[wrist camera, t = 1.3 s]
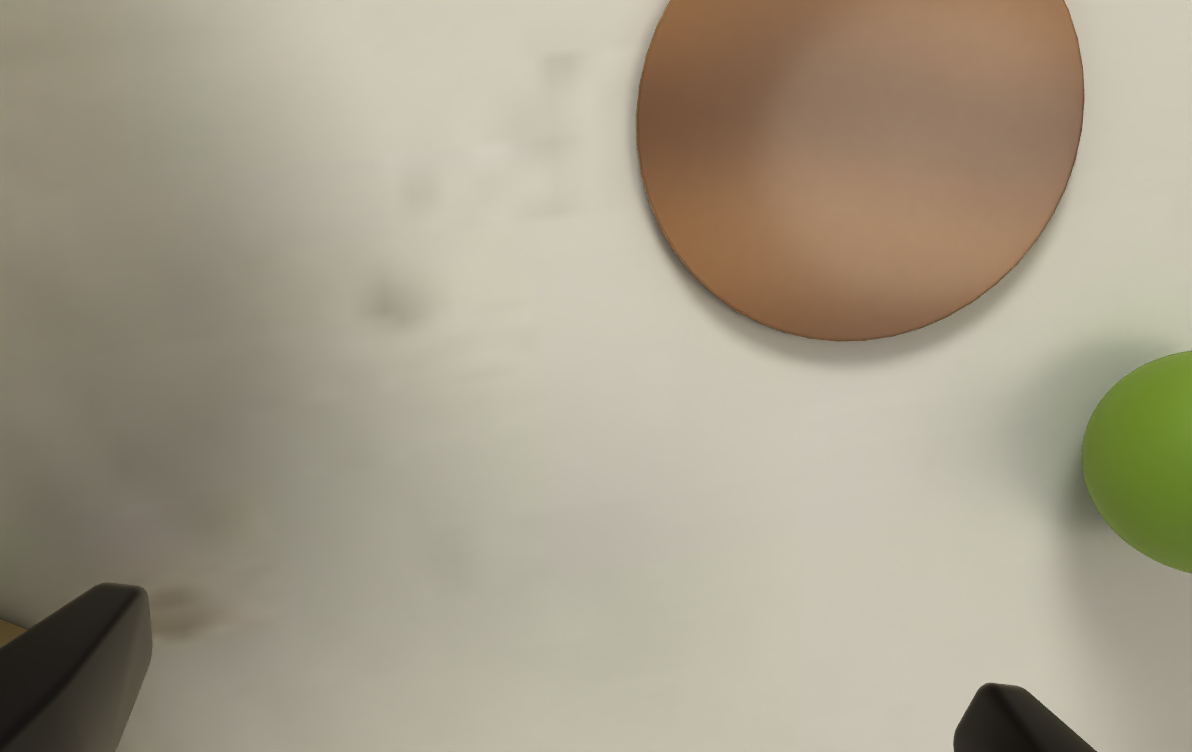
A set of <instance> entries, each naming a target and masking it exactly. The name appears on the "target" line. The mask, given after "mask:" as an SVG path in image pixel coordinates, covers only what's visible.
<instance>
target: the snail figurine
mask: <svg viewBox="0 0 1192 752" xmlns="http://www.w3.org/2000/svg"><path fill="white" fill-rule="evenodd" d="M1082 464H1083V472H1084V478H1085V482H1086V485H1087V488H1088V491H1089V494H1090V496H1091V498H1092V500H1093V502H1094V504H1095V506H1096V508H1097V509H1098V511H1099V513H1100V514H1101V516H1102V517H1103V518H1104V520H1105V521H1106V522H1107V523H1108V525H1109V526H1110V527H1111V528H1112V529H1113V530H1114V531H1115V532H1116V533H1117V534H1118V535H1119V536H1120V537H1121V538H1122V539H1123V540H1124V541H1126V542H1127V543H1128V544H1129V545H1131V546H1132V547H1134V548H1135V549H1136V550H1138V551H1139V552H1141V553H1143V554H1144V555H1146V556H1148V557H1150V558H1151V559H1153V560H1155V561H1157V562H1160V563H1162V564H1164V565H1167V566H1169V567H1172V568H1175V569H1178V570H1181V571H1184V572H1188V573H1192V351H1187V352H1182V353H1177V354H1173V355H1169V356H1166V357H1163V358H1160V359H1157V360H1155V361H1152V362H1150V363H1148V364H1145V365H1143V366H1142V367H1140V368H1138V369H1136V370H1134V371H1133V372H1131V373H1130V374H1128V375H1127V376H1125V377H1124V378H1123V379H1122V380H1120V381H1119V382H1118V383H1117V384H1116V385H1115V386H1113V387H1112V388H1111V389H1110V391H1109V392H1108V393H1107V394H1106V395H1105V396H1104V397H1103V399H1102V400H1101V401H1100V403H1099V404H1098V406H1097V407H1096V409H1095V411H1094V413H1093V414H1092V416H1091V419H1090V421H1089V423H1088V426H1087V429H1086V432H1085V436H1084V441H1083V449H1082Z"/></svg>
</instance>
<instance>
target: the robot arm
mask: <svg viewBox="0 0 1192 752" xmlns="http://www.w3.org/2000/svg"><path fill="white" fill-rule="evenodd" d="M152 646H153V645H152V632H151V621H150V611H149V600H148V595H147V592H146V591H145V589H144V588H142V587H140V586H135V585H126V584H117V583H102V584H99V585H96V586H95V587H93V588H91V589H90V590H88V591H87V592H85V593H84V594H82V595H81V596H79V597H77V598H76V599H74V600H73V601H71V602H70V603H68V604H67V605H65V606H64V607H62V608H61V609H59V610H57V611H56V612H54V613H53V614H51V615H50V616H48V617H47V618H45V619H44V620H42V621H41V622H39V623H38V624H36V625H34V626H33V627H31V628H30V629H28V630H27V631H25V632H24V633H22V634H21V635H19V636H18V637H16V638H14V639H13V640H11V641H10V642H8V643H7V644H5V645H4V646H2V647H1V648H0V752H115V751H116V749H117V746H118V744H119V741H120V739H121V736H122V734H123V731H124V728H125V726H126V723H127V721H128V718H129V716H130V713H131V711H132V708H133V705H134V703H135V700H136V698H137V695H138V693H139V690H140V688H141V685H142V682H143V680H144V677H145V675H146V672H147V669H148V667H149V663H150V660H151V655H152ZM953 745H954V752H1097V751H1096V750H1094V749H1093V748H1092V747H1091V746H1090V745H1089V744H1088V743H1086V742H1085V741H1084V740H1083V739H1082V738H1081V737H1080V736H1078V735H1077V734H1076V733H1075V732H1074V731H1073V730H1072V729H1070V728H1069V727H1068V726H1067V725H1066V724H1065V723H1064V722H1062V721H1061V720H1060V719H1059V718H1058V717H1057V716H1056V715H1054V714H1053V713H1052V712H1051V711H1050V710H1049V709H1048V708H1046V707H1045V706H1044V705H1043V704H1042V703H1041V702H1040V701H1038V700H1037V699H1036V698H1035V697H1034V696H1033V695H1032V694H1030V693H1029V692H1028V691H1027V690H1025V689H1023V688H1022V687H1019V686H1014V685H1005V684H997V683H986V684H984V685H983V686H981V687H980V688H979V689H978V691H977V693H976V694H975V696H974V698H973V700H972V701H971V703H970V705H969V707H968V708H967V710H966V712H965V714H964V715H963V717H962V719H961V721H960V722H959V724H958V726H957V728H956V731H955V735H954V742H953Z"/></svg>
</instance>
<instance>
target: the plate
mask: <svg viewBox="0 0 1192 752" xmlns="http://www.w3.org/2000/svg"><path fill="white" fill-rule="evenodd" d="M1083 110H1084V79H1083V66H1082V60H1081V54H1080V49H1079V43H1078V38H1077V35H1076V32H1075V29H1074V25H1073V22H1072V19H1071V16H1070V13H1069V10H1068V8H1067V6H1066V4H1065V1H1064V0H670V1H669V3H668V5H667V7H666V9H665V11H664V13H663V15H662V17H661V19H660V21H659V23H658V25H657V27H656V30H655V33H654V35H653V38H652V41H651V44H650V46H649V49H648V52H647V54H646V58H645V62H644V67H643V71H642V75H641V80H640V84H639V90H638V100H637V109H636V146H637V153H638V160H639V166H640V173H641V177H642V181H643V184H644V188H645V191H646V195H647V198H648V202H649V204H650V206H651V209H652V211H653V213H654V216H655V218H656V220H657V223H658V225H659V227H660V229H661V231H662V232H663V234H664V236H665V237H666V239H667V241H668V242H669V244H670V246H671V247H672V249H673V251H674V252H675V253H676V255H677V256H678V257H679V258H680V260H681V261H682V262H683V263H684V265H685V266H686V267H687V268H688V270H689V271H690V272H691V273H692V274H693V275H694V276H695V277H696V278H697V279H698V280H699V281H700V282H701V283H702V284H703V285H704V286H705V287H706V288H707V289H708V290H709V291H710V292H711V293H712V294H714V295H715V296H717V297H718V298H719V299H721V300H722V301H723V302H725V303H726V304H728V305H729V306H730V307H732V308H733V309H734V310H736V311H738V312H740V313H742V314H744V315H745V316H747V317H749V318H751V319H753V320H755V321H756V322H758V323H761V324H763V325H766V326H769V327H771V328H774V329H777V330H779V331H782V332H785V333H789V334H793V335H798V336H802V337H806V338H810V339H820V340H830V341H866V340H872V339H879V338H885V337H891V336H896V335H899V334H903V333H906V332H910V331H913V330H917V329H920V328H923V327H925V326H927V325H930V324H932V323H934V322H937V321H939V320H941V319H944V318H946V317H948V316H950V315H951V314H953V313H955V312H957V311H958V310H960V309H962V308H963V307H965V306H967V305H969V304H970V303H972V302H973V301H975V300H976V299H977V298H979V297H980V296H981V295H983V294H984V293H985V292H987V291H988V290H989V289H991V288H992V287H993V286H995V285H996V284H997V283H998V282H999V281H1000V280H1001V279H1002V278H1003V277H1004V276H1005V275H1006V274H1007V273H1008V272H1009V271H1011V270H1012V269H1013V268H1014V267H1015V266H1016V265H1017V264H1018V262H1019V261H1020V260H1021V259H1022V258H1023V256H1024V255H1025V254H1026V253H1027V252H1028V250H1029V249H1030V248H1031V247H1032V245H1033V244H1034V243H1035V242H1036V241H1037V239H1038V237H1039V236H1040V234H1041V233H1042V231H1043V230H1044V228H1045V226H1046V225H1047V223H1048V222H1049V220H1050V219H1051V217H1052V216H1053V213H1054V211H1055V209H1056V207H1057V205H1058V203H1059V201H1060V199H1061V197H1062V195H1063V193H1064V191H1065V189H1066V186H1067V183H1068V180H1069V177H1070V174H1071V171H1072V168H1073V165H1074V163H1075V160H1076V155H1077V150H1078V146H1079V141H1080V136H1081V131H1082V122H1083Z"/></svg>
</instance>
